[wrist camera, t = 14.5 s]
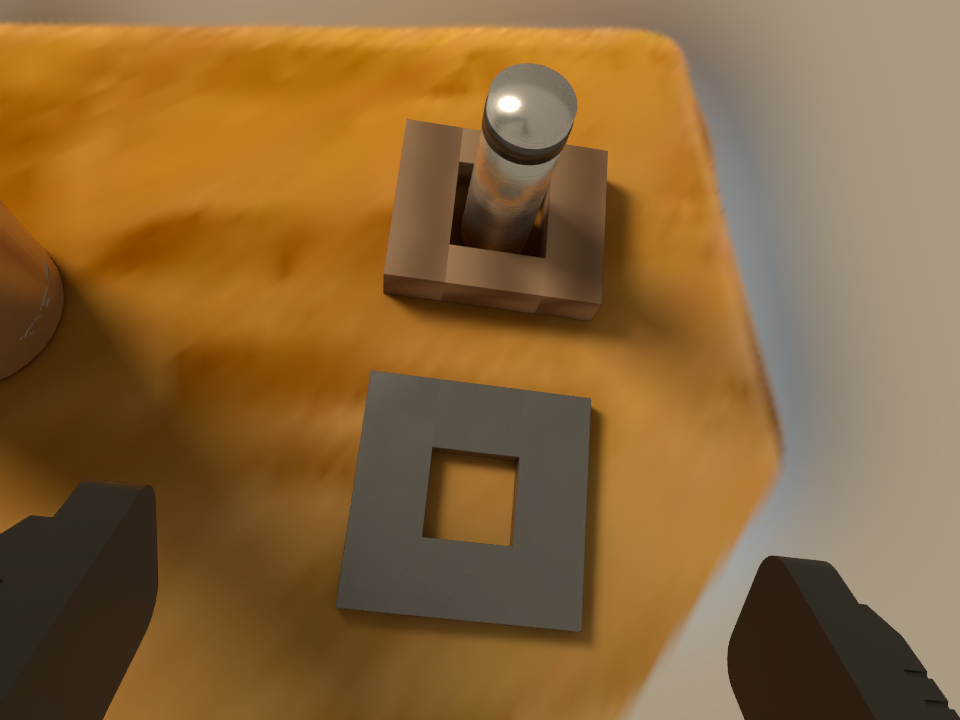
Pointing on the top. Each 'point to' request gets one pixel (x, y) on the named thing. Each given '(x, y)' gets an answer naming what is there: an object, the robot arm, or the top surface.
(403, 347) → the top surface
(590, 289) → the rack
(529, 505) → the socket plate
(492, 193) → the grey metal cylinder
